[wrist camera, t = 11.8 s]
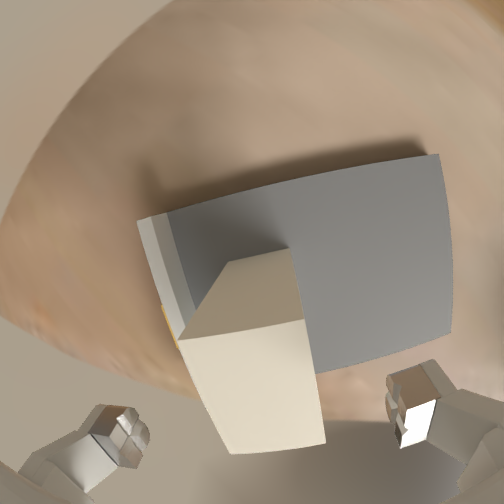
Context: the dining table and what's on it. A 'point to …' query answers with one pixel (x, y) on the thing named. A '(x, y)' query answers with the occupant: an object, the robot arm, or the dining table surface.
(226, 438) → the carton
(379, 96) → the dining table surface
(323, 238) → the grey panel white edge
